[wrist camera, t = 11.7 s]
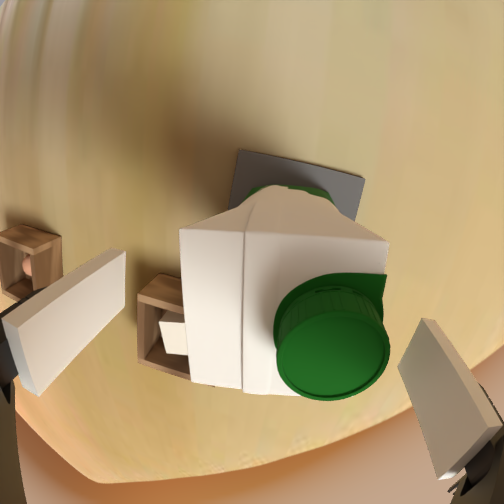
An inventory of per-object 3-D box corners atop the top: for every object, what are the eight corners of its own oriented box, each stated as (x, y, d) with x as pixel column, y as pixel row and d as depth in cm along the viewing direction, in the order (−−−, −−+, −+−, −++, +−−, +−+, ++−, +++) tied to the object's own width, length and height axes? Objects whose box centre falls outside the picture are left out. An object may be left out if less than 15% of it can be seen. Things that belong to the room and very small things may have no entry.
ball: (33, 268, 35) (19, 275, 32) (31, 249, 34) (17, 255, 31) (46, 273, 35) (32, 281, 32) (44, 254, 34) (30, 261, 31)
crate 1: (25, 279, 37) (2, 293, 32) (21, 224, 34) (-6, 234, 29) (64, 297, 36) (40, 314, 31) (61, 236, 34) (33, 249, 28)
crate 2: (156, 337, 36) (137, 362, 31) (160, 272, 33) (137, 293, 28) (225, 357, 35) (214, 387, 30) (238, 293, 32) (227, 318, 27)
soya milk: (330, 272, 29) (367, 437, 11) (239, 266, 31) (163, 418, 12) (338, 182, 27) (429, 241, 8) (241, 177, 28) (132, 222, 9)
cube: (178, 334, 34) (166, 353, 30) (172, 304, 33) (158, 321, 29) (210, 335, 34) (201, 356, 30) (206, 305, 32) (195, 323, 29)
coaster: (219, 266, 32) (217, 268, 31) (240, 149, 28) (239, 149, 27) (331, 292, 31) (332, 294, 30) (363, 178, 27) (365, 179, 26)
